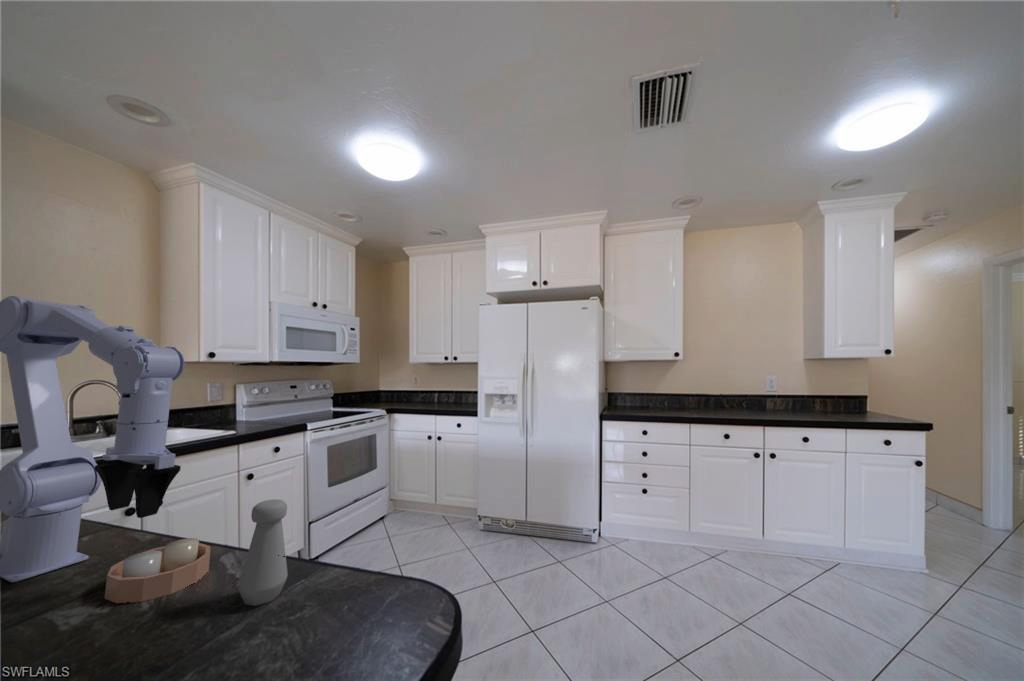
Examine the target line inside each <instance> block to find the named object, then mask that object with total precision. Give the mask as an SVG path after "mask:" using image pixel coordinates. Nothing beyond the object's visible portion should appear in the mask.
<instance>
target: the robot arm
mask: <svg viewBox="0 0 1024 681" xmlns="http://www.w3.org/2000/svg"><path fill="white" fill-rule="evenodd" d="M135 331H136V329H135V328H133V327H132V326H126V325H119V326H116V325H115V326H110V325H108V324H107V323H105V322H104V321H103V320H101V319H99V318H98V317H97V316H96V312H95V310H93V309H90V308H89V307H87V306H84V305H72V304H65V303H59V302H58V303H57V302H52V301H51V302H50V301H43V300H37V299H30V298H24V297H23V298H22V297H20V296H16V295H10V296H9V295H8V296H7V297H5V298H3V299H1V301H0V353H2V354H4V355H6V361H7V367H8V374H9V377H10V378H9V379H10V383H11V384H10V385H11V391H12V397H13V401H14V408H15V414H16V420H17V425H18V426H17V427H18V432H19V440H20V445H21V450H22V453H21V454H20V455H18V456H17V457H15V458H14V459H12V460H10V461H9V462H7V463H6V464H5V465H3V466H2V467H1V469H0V511H1V512H2V513H3V514H4V515H5V516H9V517H8V518H7V520H6V521H5V522H4V524H3V525H2V529H1V533H0V534H1V535H0V578H1V579H4V580H6V581H8V582H9V583H17V582H20V581H23V580H26V579H29V578H33V577H36V576H38V575H43V574H45V573H49V572H52V571H55V570H58V569H61V568H65V567H67V566H71V565H73V564H76V563H80V562H83V561H86V560H89V558H90V557H89V555H87V554H85V553H82V552H79V551H78V542H79V535H80V534H79V533H80V528H81V527H80V526H81V520H82V519H81V518H82V511H83V505H84V504H85V503H89V501H90V497H92V496H93V495H94V494H96V493H97V491H98V490H99V488H100V487H101V485H102V484H103V487H104V491H105V494H106V495H105V496H106V503H107V506H108V509H109V510H110V511H115V510H119V509H124V508H127V507H129V506H130V505H131V503H132V500H133V497H134V494H135V499H134V500H135V514H136V518H138V519H142V518H146V517H150V516H153V515H158V511H159V509H160V507H161V505H162V502H163V499H164V498H165V495H166V492H167V490H168V489H169V487H170V485H171V484H172V481H174V479H175V478H176V476H178V473H180V472H181V468H182V467H181V465H178V464H175V462H176V453H173V452H171V451H170V450H169V449H167V447H166V442H167V434H168V424H169V415H170V407H171V398H172V390H173V382H174V381H176V380H178V379H179V378H180V376H182V374H183V371H184V368H185V357H184V356H183V354H182V352H181V351H180V350H178V348H177V347H176V346H164V347H163V346H160V347H159V346H158V345H157V344H155V343H154V340H153V339H150V338H147V337H143V336H141V335H139V334H137V333H135ZM83 341H84V342H85V343H87V344H88V349H89V352H90V353H91V354H92V355H93V356H95V357H97V358H98V359H100V360H102V361H103V362H105V363H107V365H108V364H109V365H110V366H112V371H113V375H114V376H115V379H116V390H117V393H119V394H120V400H119V405H118V406H119V407H118V412H117V413H118V415H117V422H116V428H115V429H116V431H115V439H114V446H110V447H106V450H105V453H104V454H102V456H101V457H102V458H101V459H102V460H104V461H108V462H107V463H102V464H97V462H96V460H95V459H94V454H93V451H91V450H89V449H87V448H85V447H81V446H80V445H77V444H75V443H73V442H72V439H71V434H70V427H69V423H68V418H67V412H66V408H65V402H64V397H63V391H62V388H61V381H60V377H59V376H60V375H59V372H58V365H57V359H58V358H59V357H62V356H66V355H69V354H71V353H72V352H73V351H75V349H77V347H78V346H79V345H80V344H81V342H83Z"/></svg>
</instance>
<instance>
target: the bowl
mask: <svg viewBox="0 0 1024 681" xmlns="http://www.w3.org/2000/svg"><path fill="white" fill-rule="evenodd" d="M165 547H166V545H165V546H159V547H155V548H152V549H148V550H144V552H147V551H161V552H162V557H161V566H160V573H159V574H155V575H150V576H145V577H126V578H124V577H122V571H123V563H124V560H125V559H123V560H121V561H119V562H118V563H116V564H114V565H112V566H111V567H110V570H109V571H108V573H107V575H106V582H105V583H106V584H105V591H104V599H105V600H106V601H107V600H108V601H110V602H113V603H114V602H115V603H114V604H127V602H129V604H130V603H142V602H145V601H151V600H154V599H158V598H162V597H166V596H170V595H173V594H174V593H177V592H179V591H181V590H184V589H186V588H188V587H190V586H189V585H191V584H193V583H195V584H196V583H198V582H199V581H200V580H202V577H203V576H204V575H205V574H206V573H207V572H208V573H209V570H210V569H209V568H210V559H211V545H207V544H204V543H201V542H199V545H198V554H197V560H196V561H194V562H192V563H190V564H187V565H185V566H182V567H180V568H177V569H175V570H172V571H168V572H163V564H164V554H165ZM206 575H207V574H206ZM206 575H205V576H206ZM205 576H204V577H205ZM204 577H203V578H204ZM199 579H200V580H199ZM198 580H199V581H198ZM197 581H198V582H197ZM193 585H194V584H193ZM187 586H188V587H187ZM191 586H192V585H191ZM185 587H186V588H185Z"/></svg>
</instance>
